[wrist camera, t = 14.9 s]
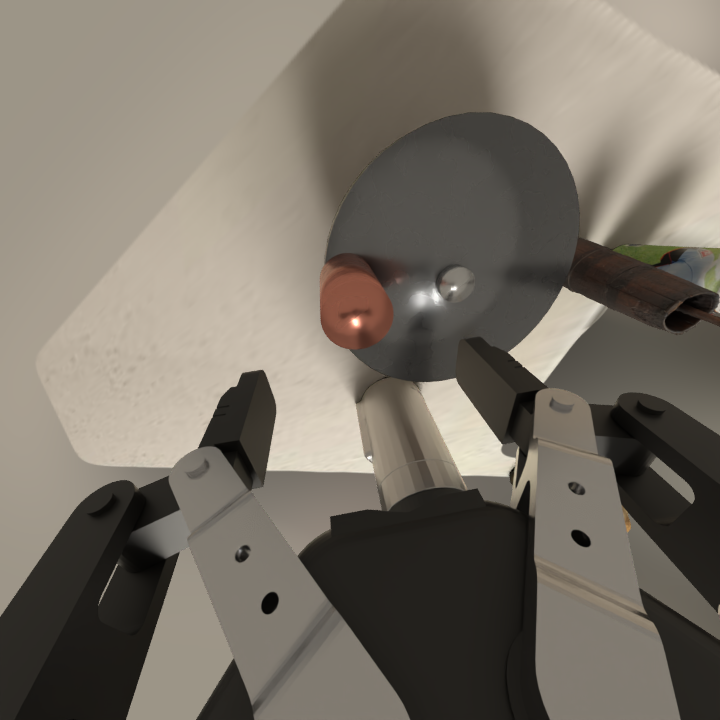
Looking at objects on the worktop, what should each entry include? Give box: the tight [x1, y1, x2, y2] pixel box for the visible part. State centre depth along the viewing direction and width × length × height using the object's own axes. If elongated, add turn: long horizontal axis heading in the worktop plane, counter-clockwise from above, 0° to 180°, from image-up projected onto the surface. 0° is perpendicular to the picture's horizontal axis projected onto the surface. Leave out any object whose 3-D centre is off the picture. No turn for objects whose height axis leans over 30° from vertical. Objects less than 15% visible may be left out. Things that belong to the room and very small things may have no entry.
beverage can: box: [613, 244, 720, 314], centre depth 29 cm, size 6×7×12 cm
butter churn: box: [563, 237, 720, 335], centre depth 21 cm, size 9×10×28 cm
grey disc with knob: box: [320, 113, 580, 382], centre depth 17 cm, size 18×18×8 cm
